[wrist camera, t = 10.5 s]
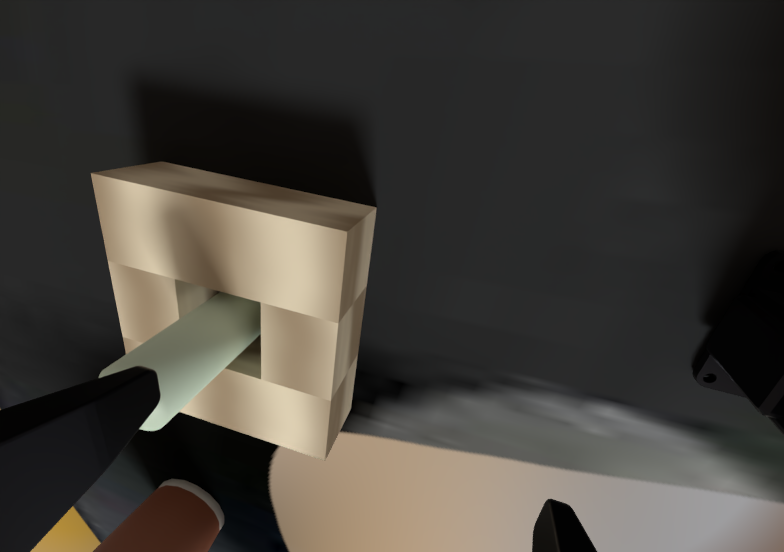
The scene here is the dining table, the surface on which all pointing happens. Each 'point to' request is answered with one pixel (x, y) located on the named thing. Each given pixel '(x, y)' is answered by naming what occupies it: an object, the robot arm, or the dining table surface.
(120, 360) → the peg
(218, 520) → the coffee cup
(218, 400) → the hole board
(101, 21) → the dining table surface
